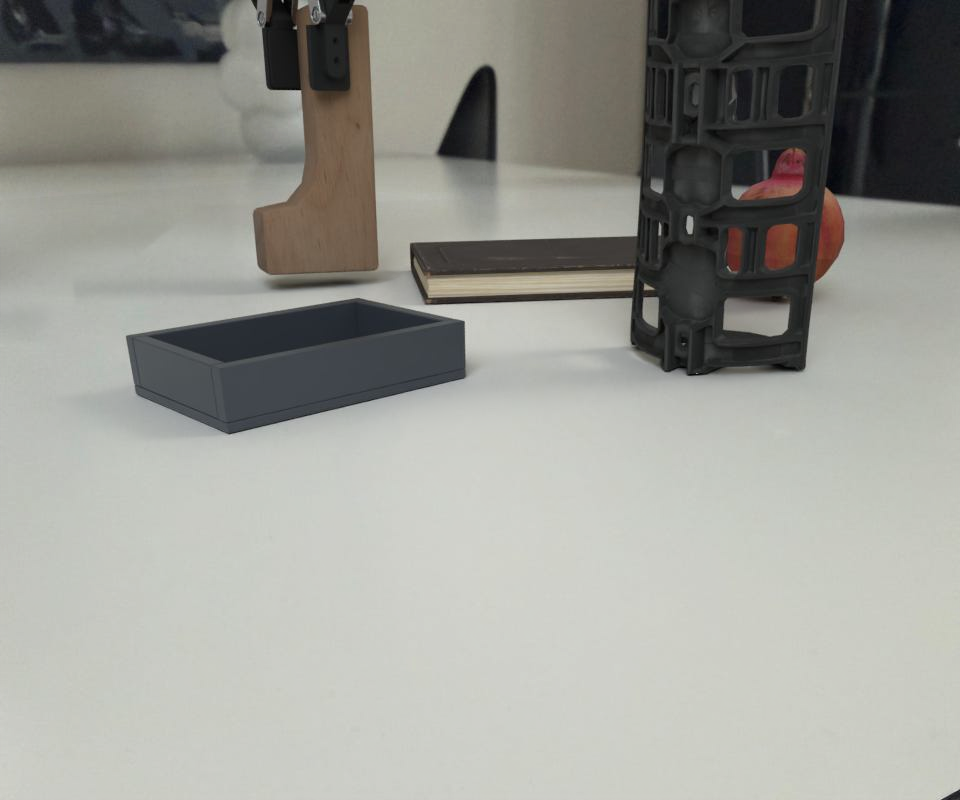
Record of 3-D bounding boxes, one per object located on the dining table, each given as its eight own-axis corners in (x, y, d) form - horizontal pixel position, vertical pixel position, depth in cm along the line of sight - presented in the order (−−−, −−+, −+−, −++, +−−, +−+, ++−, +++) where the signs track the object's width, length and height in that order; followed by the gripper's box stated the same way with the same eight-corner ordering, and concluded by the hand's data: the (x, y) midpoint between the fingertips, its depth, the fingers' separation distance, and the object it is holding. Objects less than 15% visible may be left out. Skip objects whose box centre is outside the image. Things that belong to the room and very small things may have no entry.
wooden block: (266, 276, 77) (242, -1, 69) (257, 269, 81) (232, 5, 73) (380, 271, 80) (369, 4, 72) (365, 264, 84) (353, 10, 75)
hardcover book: (729, 293, 75) (732, 261, 74) (425, 304, 73) (423, 271, 72) (668, 261, 89) (670, 234, 88) (410, 269, 87) (409, 241, 86)
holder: (827, 351, 57) (878, -75, 46) (790, 395, 52) (836, -73, 41) (647, 334, 63) (654, -53, 52) (596, 373, 57) (591, -49, 46)
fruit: (705, 291, 76) (719, 145, 72) (809, 289, 77) (829, 143, 72) (736, 312, 69) (753, 151, 64) (850, 309, 70) (876, 149, 65)
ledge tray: (135, 393, 52) (125, 335, 51) (361, 348, 61) (358, 297, 59) (228, 434, 46) (219, 368, 45) (466, 377, 55) (465, 320, 53)
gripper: (173, -214, 69) (205, 89, 77) (312, -270, 58) (332, 90, 66) (268, -194, 73) (288, 90, 82) (414, -243, 62) (420, 91, 71)
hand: (307, 87), depth 74 cm, fingers closed on wooden block, 5 cm apart
